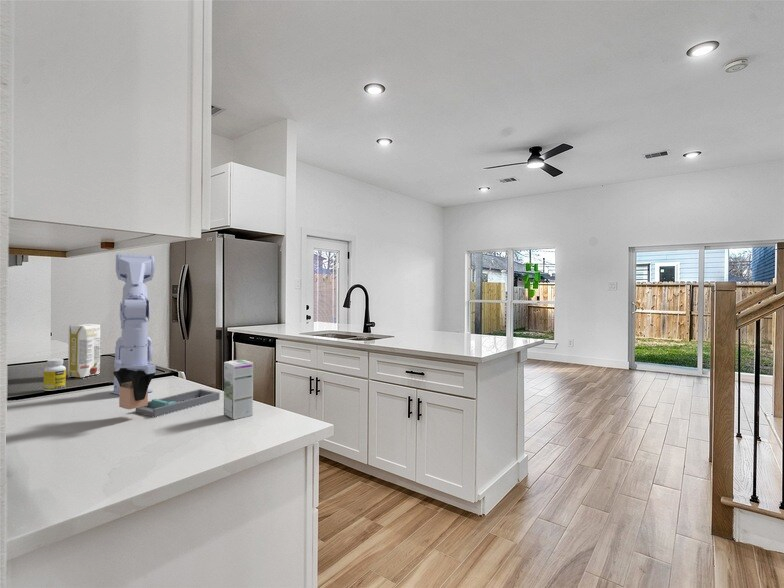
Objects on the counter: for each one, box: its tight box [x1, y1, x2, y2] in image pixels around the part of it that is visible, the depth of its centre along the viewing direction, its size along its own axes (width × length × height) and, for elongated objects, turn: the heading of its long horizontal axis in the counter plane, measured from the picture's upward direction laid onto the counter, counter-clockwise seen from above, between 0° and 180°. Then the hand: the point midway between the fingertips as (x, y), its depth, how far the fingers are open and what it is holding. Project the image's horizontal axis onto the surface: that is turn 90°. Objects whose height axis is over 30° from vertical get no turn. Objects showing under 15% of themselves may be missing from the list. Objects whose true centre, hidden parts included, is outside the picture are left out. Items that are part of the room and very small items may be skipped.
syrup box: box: [223, 359, 254, 420], centre depth 108 cm, size 6×6×14 cm
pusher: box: [151, 398, 178, 409], centre depth 112 cm, size 6×5×2 cm
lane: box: [135, 388, 221, 418], centre depth 116 cm, size 8×20×2 cm, turn 153°
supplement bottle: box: [43, 358, 67, 389], centre depth 128 cm, size 5×5×10 cm
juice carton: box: [67, 323, 101, 377], centre depth 148 cm, size 8×9×19 cm
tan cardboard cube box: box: [118, 381, 149, 410], centre depth 104 cm, size 4×4×6 cm
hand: (133, 398), depth 104 cm, fingers closed on tan cardboard cube box, 4 cm apart
